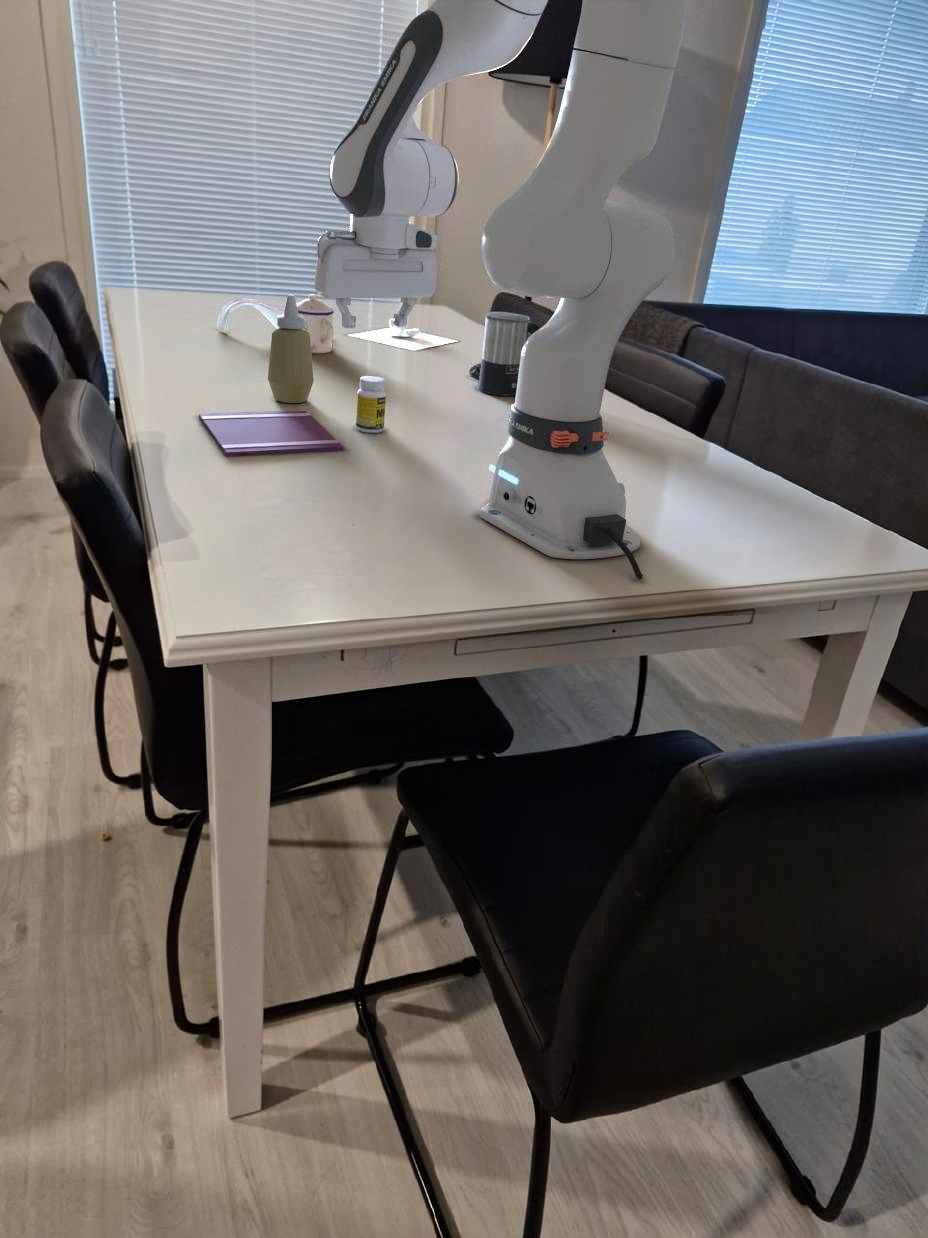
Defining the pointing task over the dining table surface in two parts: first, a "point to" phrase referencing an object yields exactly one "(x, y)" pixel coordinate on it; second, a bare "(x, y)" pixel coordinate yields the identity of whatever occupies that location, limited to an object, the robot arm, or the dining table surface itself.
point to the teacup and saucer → (403, 338)
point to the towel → (268, 433)
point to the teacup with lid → (317, 323)
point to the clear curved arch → (264, 309)
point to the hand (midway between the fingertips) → (374, 326)
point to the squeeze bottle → (290, 357)
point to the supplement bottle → (371, 405)
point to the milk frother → (502, 352)
